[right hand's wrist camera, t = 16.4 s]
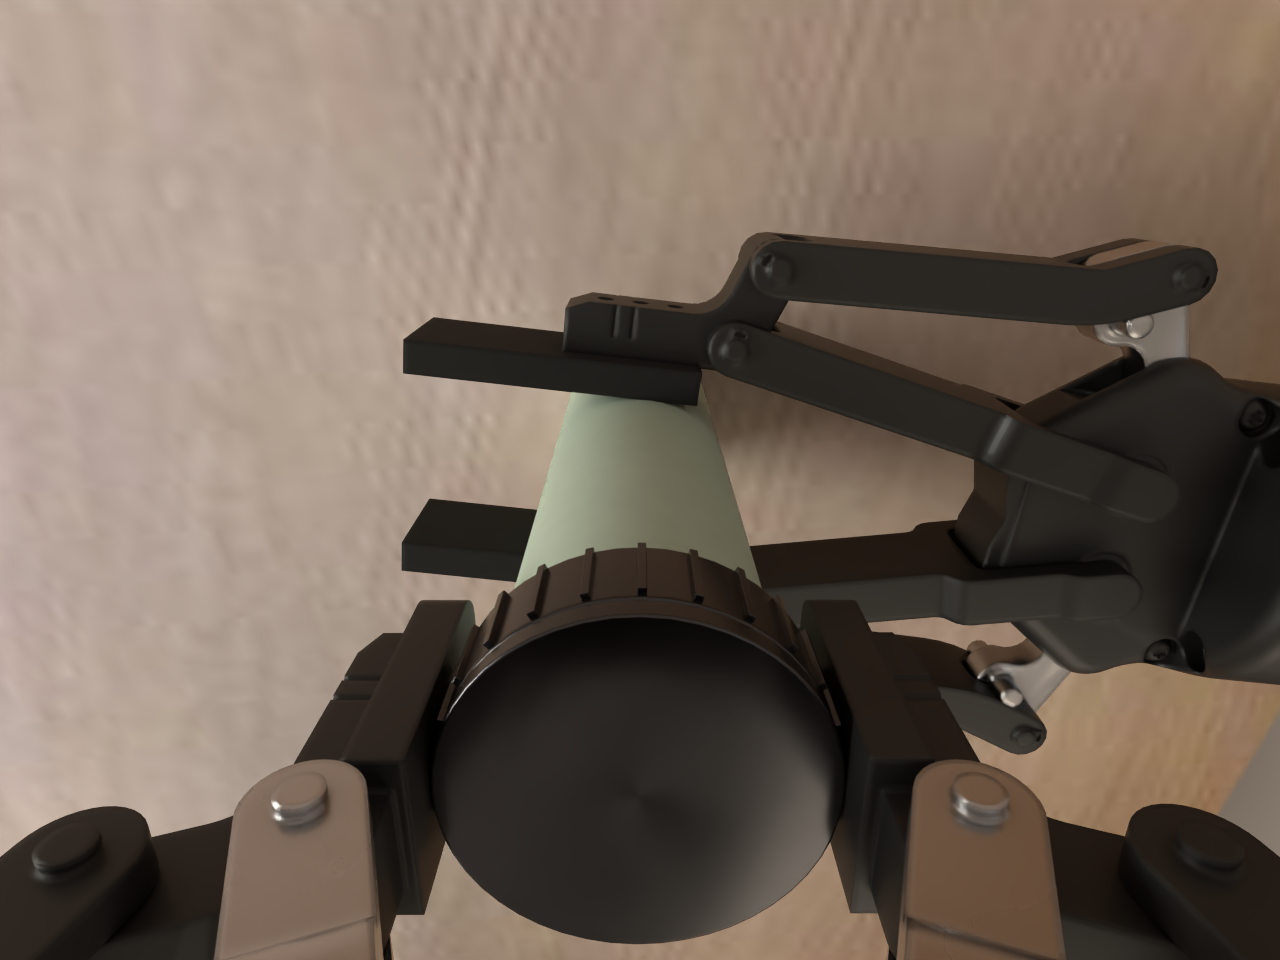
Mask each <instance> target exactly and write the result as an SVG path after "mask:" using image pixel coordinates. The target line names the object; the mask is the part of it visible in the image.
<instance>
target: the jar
mask: <svg viewBox="0 0 1280 960" xmlns="http://www.w3.org/2000/svg"><path fill="white" fill-rule="evenodd" d="M638 542H640V543H646V548H659V549H669V550H674V551H679V552H684V553H688V552H689V550H690V549H694V550H697V551H698V556H699V557H702V558H705V559H709V560H712V561H715V562H717V563H719V564H721V565H723V566H725V567H727V568H730V569H732V570H734V571H735V569H736V568H737V567H740V568H742V569H743V570H745V574H746V578H747V579H749V580H751V581H752V582H754V583H755V584H757V585H758V586H759V587H761V584H760V581H759V577H758V574H757V570H756V567H755V563H754V560H753V557H752V553H751V550H750V546H749V543H748V540H747V536H746V533H745V529H744V526H743V523H742V519H741V516H740V512H739V509H738V506H737V502H736V499H735V495H734V492H733V489H732V485H731V482H730V478H729V475H728V472H727V468H726V465H725V461H724V458H723V455H722V451H721V448H720V444H719V441H718V438H717V434H716V431H715V427H714V424H713V421H712V417H711V414H710V410H709V407H708V404H707V400H706V397H705V393H704V390H703V387H702V383H701V384H700V390H699V397H698V404H697V406H691V405H682V404H673V403H664V402H655V401H648V400H637V399H628V398H619V397H611V396H602V395H593V394H584V393H575V392H572V393H571V397H570V400H569V403H568V407H567V410H566V414H565V417H564V421H563V424H562V427H561V431H560V434H559V438H558V441H557V445H556V448H555V451H554V455H553V458H552V462H551V465H550V469H549V472H548V475H547V479H546V482H545V486H544V489H543V493H542V496H541V499H540V503H539V506H538V510H537V513H536V517H535V520H534V523H533V527H532V530H531V534H530V537H529V540H528V544H527V547H526V551H525V554H524V558H523V561H522V564H521V568H520V571H519V575H518V578H517V582H516V585H515V588H516V587H518V586H519V585H520V584H522V583H523V582H524V581H526V580H528V579H529V578H531V577H533V576H534V575H536V573H537V569H538V567H539V566H541V565H543V564H546V566H547V567H548V568H549V567H551V566H554V565H556V564H558V563H561V562H563V561H565V560H568V559H571V558H574V557H578V556H581V555H584V554H585V550H586V549H587V548H592V547H594V550H595V552H597V551H603V550H609V549H615V548H635V547H637V546H638ZM515 588H514V589H515ZM761 588H762V587H761Z"/></svg>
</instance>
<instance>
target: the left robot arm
mask: <svg viewBox="0 0 1280 960" xmlns="http://www.w3.org/2000/svg"><path fill="white" fill-rule="evenodd" d="M738 257H739V259H738V261H737V263H736V265H735V267H734V268H733V270H732V272H731V274H730V276H729V278H728V280H727V282H726V284H725V285H724V287H723V288H722V290H721V291H720V292H719V293H718V294H717V295H716V296H715V297H714V298H712V299H710V300H708V301H707V302H703V303H699V304H687V303H679V302H670V301H662V300H653V299H645V298H634V297H628V296H616V295H610V294H602V293H593V292H592V293H589V294H585V295H581V296H578V297H574V298H571V299H570V301H569V303H568V305H567V307H566V310H565V323H564V332H556V331H547V330H539V329H530V328H521V327H513V326H504V325H495V324H486V323H478V322H469V321H460V320H452V319H443V318H434V317H433V318H432V319H431V320H429V321H428V322H426V323H425V324H424V325H422V326H421V327H420V328H418V329H417V330H416V331H414V332H413V333H412V334H410V335H409V336H408V337H406V338H405V339H403V373H405V374H414V375H423V376H432V377H440V378H449V379H458V380H467V381H476V382H485V383H494V384H503V385H512V386H521V387H530V388H539V389H548V390H557V391H566V392H575V393H584V394H593V395H602V396H611V397H619V398H628V399H637V400H648V401H655V402H664V403H673V404H682V405H691V406H697V404H698V397H699V390H700V384H701V377H702V372H701V369H708V370H717V371H718V372H720V373H721V374H723V375H725V376H727V377H730V378H733V379H736V380H739V381H742V382H745V383H748V384H751V385H754V386H757V387H760V388H763V389H766V390H769V391H772V392H775V393H778V394H781V395H784V396H787V397H790V398H793V399H796V400H799V401H802V402H805V403H808V404H811V405H814V406H817V407H820V408H823V409H826V410H829V411H832V412H835V413H837V414H840V415H843V416H846V417H849V418H852V419H855V420H858V421H861V422H864V423H867V424H870V425H873V426H876V427H879V428H882V429H885V430H888V431H891V432H894V433H897V434H900V435H903V436H906V437H909V438H912V439H915V440H918V441H921V442H924V443H927V444H930V445H933V446H936V447H939V448H942V449H945V450H948V451H951V452H954V453H957V454H960V455H963V456H966V457H969V458H972V459H974V490H973V492H972V493H971V495H970V497H969V499H968V500H967V502H966V504H965V505H964V507H963V509H962V510H961V512H960V514H959V516H958V519H957V520H950V521H939V522H928V523H922V524H919V525H917V526H916V527H915V528H914V530H913V531H911V532H906V533H895V534H884V535H872V536H861V537H849V538H838V539H827V540H815V541H804V542H792V543H781V544H769V545H758V546H750V550H751V553H752V557H753V560H754V563H755V567H756V570H757V574H758V577H759V581H760V584H761V587H762V589H763V590H764V591H765V592H766V593H768V594H769V595H770V596H771V597H772V598H773V597H774V596H776V595H777V594H778V595H779V596H780V597H781V598H782V600H783V603H784V606H785V609H786V612H787V614H788V615H789V616H790V617H791V619H792V620H793V622H794V623H795V625H796V626H797V628H798V629H799V631H800V624H801V613H802V607H803V603H804V601H805V600H855V601H856V602H857V603H858V605H859V607H860V609H861V611H862V613H863V615H864V617H865V619H866V621H867V623H869V622H881V621H893V620H905V619H917V618H929V617H941V618H945V619H947V620H950V621H952V622H954V623H957V624H961V625H981V624H993V623H1005V622H1011V623H1012V624H1013V625H1014V626H1015V627H1016V628H1017V629H1018V630H1019V631H1020V632H1021V633H1022V634H1023V635H1024V636H1026V637H1027V638H1026V639H1025V640H1024V641H1023V642H1021V643H1020V644H1018V645H1015V646H1012V647H1001V646H996V645H987V644H986V643H985V642H984V641H982V640H976V641H974V642H972V643H971V644H969V645H968V648H967V650H964V649H962V648H960V647H957V646H955V645H952V644H948V643H945V642H942V641H938V640H932V639H927V638H920V637H912V636H904V635H896V634H895V635H896V636H897V637H899V638H900V639H901V640H903V641H904V642H905V643H906V644H908V645H909V646H910V647H911V648H913V649H914V650H915V651H917V652H918V654H919V656H920V658H921V659H922V661H923V663H924V665H925V666H926V668H927V670H928V672H929V673H930V678H931V680H934V682H935V684H936V686H937V687H938V689H939V691H940V693H941V698H942V699H944V700H945V701H946V703H947V705H948V707H949V708H950V710H951V712H952V714H953V715H954V717H955V719H956V721H957V722H958V724H959V726H960V728H961V729H962V730H964V731H966V732H968V733H970V734H972V735H974V736H976V737H979V738H981V739H983V740H985V741H987V742H989V743H991V744H993V745H995V746H997V747H1000V748H1002V749H1004V750H1006V751H1008V752H1010V753H1014V754H1028V753H1030V752H1033V751H1035V750H1036V749H1038V748H1039V747H1040V746H1041V745H1042V744H1043V742H1044V741H1045V739H1046V734H1047V730H1046V728H1045V726H1044V724H1043V723H1042V721H1041V720H1040V718H1039V717H1038V716H1037V714H1036V711H1037V710H1038V709H1039V708H1040V707H1041V706H1042V704H1043V703H1044V702H1045V701H1046V700H1047V699H1048V697H1049V696H1050V695H1051V694H1052V693H1053V692H1054V691H1055V689H1056V688H1057V687H1058V686H1059V685H1060V684H1061V682H1062V681H1063V680H1064V679H1065V678H1066V677H1067V676H1068V674H1069V673H1070V672H1075V673H1082V674H1090V673H1097V672H1102V671H1105V670H1108V669H1111V668H1113V667H1117V666H1121V665H1125V664H1131V663H1147V664H1152V665H1156V666H1160V667H1164V668H1168V669H1172V670H1176V671H1179V672H1183V673H1187V674H1192V675H1196V676H1201V677H1207V678H1214V679H1224V680H1235V681H1245V682H1255V683H1266V684H1276V685H1280V384H1271V383H1263V382H1254V381H1245V380H1237V379H1228V378H1223V377H1222V376H1221V375H1220V374H1218V373H1217V372H1216V371H1215V370H1214V369H1213V368H1212V367H1211V366H1209V365H1208V364H1206V363H1204V362H1202V361H1200V360H1197V359H1194V358H1190V353H1189V305H1190V304H1192V303H1195V302H1197V301H1199V300H1201V299H1202V298H1203V297H1204V296H1205V295H1206V294H1207V293H1208V292H1209V291H1210V290H1211V288H1212V286H1213V285H1214V283H1215V281H1216V276H1217V271H1218V268H1217V264H1216V260H1215V258H1214V257H1213V256H1212V255H1211V254H1210V252H1208V251H1206V250H1203V249H1200V248H1195V247H1188V246H1182V245H1174V244H1167V243H1161V242H1154V241H1148V240H1141V239H1134V238H1131V239H1122V240H1118V241H1114V242H1110V243H1107V244H1103V245H1099V246H1095V247H1091V248H1088V249H1084V250H1080V251H1076V252H1073V253H1069V254H1065V255H1061V256H1057V257H1054V258H1047V257H1036V256H1025V255H1014V254H1003V253H992V252H981V251H970V250H959V249H948V248H937V247H926V246H915V245H904V244H893V243H882V242H871V241H860V240H849V239H838V238H826V237H815V236H804V235H793V234H782V233H771V232H764V233H757V234H755V235H753V236H751V237H749V238H748V239H747V240H746V241H745V243H744V244H743V245H742V247H741V250H740V253H739V256H738ZM788 301H801V302H812V303H823V304H835V305H846V306H857V307H869V308H880V309H891V310H903V311H914V312H926V313H937V314H948V315H960V316H971V317H982V318H994V319H1005V320H1016V321H1028V322H1039V323H1050V324H1062V325H1076V327H1077V328H1078V330H1079V332H1080V333H1082V334H1083V335H1084V336H1086V337H1089V338H1091V339H1094V340H1097V341H1099V342H1102V343H1104V344H1107V345H1110V346H1120V348H1121V349H1122V352H1123V356H1122V357H1120V358H1118V359H1116V360H1114V361H1112V362H1110V363H1108V364H1106V365H1104V366H1102V367H1100V368H1098V369H1096V370H1094V371H1092V372H1090V373H1088V374H1086V375H1084V376H1082V377H1080V378H1078V379H1076V380H1074V381H1072V382H1070V383H1067V384H1065V385H1063V386H1061V387H1059V388H1057V389H1055V390H1053V391H1051V392H1049V393H1047V394H1045V395H1043V396H1041V397H1039V398H1037V399H1035V400H1033V401H1031V402H1029V403H1027V404H1025V405H1024V404H1021V403H1018V402H1015V401H1012V400H1009V399H1006V398H1004V397H1001V396H998V395H995V394H992V393H989V392H986V391H983V390H981V389H978V388H975V387H972V386H969V385H964V384H963V385H960V384H956V383H953V382H950V381H948V380H945V379H942V378H939V377H936V376H933V375H930V374H927V373H924V372H922V371H919V370H916V369H913V368H910V367H907V366H904V365H901V364H898V363H896V362H893V361H890V360H887V359H884V358H881V357H878V356H875V355H872V354H869V353H867V352H864V351H861V350H858V349H855V348H852V347H849V346H846V345H843V344H841V343H838V342H835V341H832V340H829V339H826V338H823V337H820V336H817V335H815V334H812V333H809V332H806V331H803V330H800V329H797V328H794V327H791V326H789V325H786V324H783V323H780V322H777V320H778V319H779V317H780V315H781V313H782V311H783V310H784V308H785V306H786V304H787V302H788ZM536 513H537V510H533V509H524V508H514V507H505V506H495V505H485V504H476V503H466V502H457V501H447V500H438V499H429V500H428V502H427V504H426V505H425V507H424V508H423V510H422V511H421V513H420V515H419V516H418V518H417V519H416V521H415V523H414V524H413V526H412V527H411V529H410V531H409V532H408V534H407V535H406V537H405V538H404V540H403V542H402V571H412V572H422V573H432V574H442V575H452V576H461V577H471V578H481V579H491V580H501V581H511V582H517V578H518V575H519V571H520V568H521V564H522V561H523V558H524V554H525V551H526V547H527V544H528V540H529V537H530V534H531V530H532V527H533V523H534V520H535V517H536Z"/></svg>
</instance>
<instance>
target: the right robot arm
mask: <svg viewBox="0 0 1280 960" xmlns="http://www.w3.org/2000/svg"><path fill="white" fill-rule="evenodd" d="M473 625H475V614H474V608H473V604H472V602H471V601H470V600H422V601H420V602H419V604H418V605H417V607H416V609H415V611H414V613H413V615H412V617H411V619H410V621H409V623H408V625H407V627H406V629H405V631H404V633H383V634H382V635H380V636H379V637H378V638H377V639H375V640H374V641H373V642H371V643H370V644H369V645H368V646H366V647H365V648H364V649H362V650H361V651H360V652H359V653H358V654H357V656H356V657H355V659H354V661H353V662H352V664H351V666H350V668H349V669H348V671H347V673H346V675H345V680H344V681H341V683H340V685H339V687H338V688H337V690H336V692H335V694H334V699H333V700H330V702H329V704H328V706H327V707H326V709H325V711H324V713H323V714H322V716H321V718H320V719H319V721H318V723H317V725H316V726H315V728H314V730H313V732H312V733H311V735H310V737H309V738H308V740H307V742H306V744H305V745H304V747H303V749H302V750H301V752H300V754H299V756H298V757H297V759H296V761H295V763H294V764H293V765H290V766H288V767H285V768H282V769H280V770H278V771H276V772H274V773H272V774H270V775H269V776H267V777H265V778H264V779H262V780H261V781H259V782H258V783H257V784H256V785H254V786H253V787H252V788H251V789H250V790H249V791H248V792H247V793H246V794H245V795H244V796H243V798H242V799H241V801H240V802H239V804H238V806H237V808H236V809H235V812H234V816H231V817H228V818H226V819H223V820H220V821H217V822H213V823H210V824H206V825H202V826H198V827H194V828H189V829H185V830H181V831H177V832H172V833H168V834H164V835H159V836H155V837H151V834H150V830H149V827H148V824H147V822H146V819H145V818H144V817H143V816H142V815H141V814H140V813H138V812H136V811H135V810H132V809H129V808H126V807H117V806H107V807H98V808H91V809H87V810H83V811H79V812H76V813H73V814H70V815H67V816H64V817H62V818H60V819H57V820H55V821H53V822H51V823H49V824H47V825H45V826H43V827H41V828H39V829H38V830H36V831H34V832H33V833H31V834H30V835H28V836H27V837H25V838H24V839H23V840H21V841H20V842H18V843H17V844H16V845H15V846H13V847H12V848H11V849H10V850H8V851H7V852H6V853H5V854H4V855H2V856H1V857H0V960H394V957H393V951H392V944H391V938H390V933H391V930H392V926H393V923H394V920H395V917H396V915H424V914H425V910H426V907H427V903H428V900H429V896H430V893H431V889H432V886H433V882H434V879H435V876H436V872H437V869H438V865H439V862H440V858H441V855H442V851H443V848H444V844H445V841H446V840H445V838H444V836H443V834H442V832H441V829H440V826H439V823H438V820H437V818H436V815H435V811H434V805H433V800H432V794H431V763H432V756H433V750H434V745H435V742H436V739H437V736H438V733H439V730H440V727H438V726H435V722H436V719H437V716H438V713H439V710H440V708H441V705H442V702H443V699H444V697H445V694H446V691H447V688H448V686H449V683H450V680H451V677H452V675H453V672H454V669H455V666H456V664H458V663H459V661H460V658H461V655H462V652H463V649H464V647H465V644H466V641H467V638H468V636H469V633H470V630H471V628H472V627H473ZM803 630H806V631H807V632H808V634H809V637H810V639H811V642H812V645H813V648H814V650H815V653H816V656H817V659H818V661H819V664H820V667H821V669H822V672H823V675H824V678H825V680H826V683H827V686H828V689H829V691H830V694H831V697H832V699H833V702H834V705H835V708H836V710H837V713H838V716H839V719H840V722H841V724H842V728H841V732H838V733H839V737H840V740H841V744H842V747H843V751H844V758H845V767H846V787H845V798H844V803H843V807H842V811H841V816H840V820H839V822H838V825H837V827H836V830H835V832H834V835H833V837H832V839H831V841H830V842H831V846H832V849H833V853H834V857H835V860H836V864H837V867H838V871H839V874H840V878H841V881H842V885H843V889H844V892H845V896H846V899H847V903H848V906H849V910H850V913H878V915H879V918H880V921H881V924H882V927H883V930H884V934H885V937H886V940H887V943H888V951H887V957H886V960H1280V857H1279V856H1278V855H1276V854H1275V853H1274V852H1273V851H1271V850H1270V849H1269V848H1268V847H1267V846H1265V845H1264V844H1263V843H1262V842H1260V841H1259V840H1258V839H1256V838H1255V837H1254V836H1252V835H1251V834H1250V833H1248V832H1247V831H1245V830H1243V829H1242V828H1240V827H1239V826H1237V825H1235V824H1233V823H1231V822H1229V821H1227V820H1225V819H1223V818H1221V817H1219V816H1216V815H1214V814H1212V813H1209V812H1206V811H1203V810H1200V809H1196V808H1192V807H1188V806H1183V805H1176V804H1156V805H1150V806H1147V807H1143V808H1141V809H1140V810H1138V811H1136V813H1135V814H1134V815H1133V816H1132V817H1131V820H1130V822H1129V825H1128V828H1127V832H1126V835H1125V836H1121V835H1116V834H1112V833H1108V832H1103V831H1099V830H1095V829H1091V828H1086V827H1082V826H1078V825H1074V824H1069V823H1065V822H1062V821H1058V820H1055V819H1052V818H1049V817H1047V816H1046V812H1045V810H1044V808H1043V806H1042V804H1041V802H1040V801H1039V799H1038V798H1037V796H1036V795H1035V794H1034V793H1033V792H1032V791H1031V790H1030V789H1029V788H1028V787H1027V786H1026V785H1024V784H1023V783H1022V782H1021V781H1019V780H1018V779H1016V778H1015V777H1013V776H1011V775H1010V774H1008V773H1006V772H1004V771H1002V770H1000V769H998V768H995V767H992V766H990V765H987V764H983V763H980V761H979V759H978V757H977V756H976V754H975V752H974V750H973V749H972V747H971V745H970V743H969V742H968V740H967V738H966V736H965V735H964V733H963V731H962V729H961V728H960V726H959V724H958V722H957V721H956V719H955V717H954V715H953V714H952V712H951V710H950V708H949V707H948V705H947V703H946V701H945V700H944V699H942V698H941V693H940V691H939V689H938V687H937V686H936V684H935V682H934V680H931V678H930V673H929V672H928V670H927V668H926V666H925V665H924V663H923V661H922V659H921V658H920V656H919V654H918V652H917V651H915V650H914V649H913V648H911V647H910V646H909V645H908V644H906V643H905V642H904V641H903V640H901V639H900V638H899V637H897V636H896V635H895V634H894V633H892V632H872V631H871V629H870V627H869V625H868V623H867V621H866V619H865V617H864V615H863V613H862V611H861V609H860V607H859V605H858V603H857V602H856V601H855V600H805V601H804V603H803V607H802V613H801V624H800V632H801V631H803Z"/></svg>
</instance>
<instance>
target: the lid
mask: <svg viewBox="0 0 1280 960" xmlns="http://www.w3.org/2000/svg"><path fill="white" fill-rule="evenodd" d="M435 726H438V727H440V730H439V733H438V736H437V739H436V742H435V745H434V750H433V756H432V763H431V794H432V800H433V805H434V811H435V815H436V818H437V820H438V823H439V826H440V829H441V832H442V834H443V836H444V838H445V840H446V842H447V844H448V846H449V848H450V849H451V851H452V853H453V855H454V856H455V857H456V859H457V860H458V861H459V863H460V864H461V866H462V867H463V868H464V870H465V871H466V872H467V873H468V874H469V875H470V876H471V877H472V878H473V879H474V880H475V881H476V882H477V884H478V885H479V886H480V887H481V888H483V889H484V890H485V891H486V892H488V893H489V894H490V895H491V896H492V897H494V898H495V899H496V900H497V901H499V902H500V903H502V904H503V905H505V906H506V907H508V908H510V909H511V910H513V911H514V912H516V913H518V914H519V915H521V916H523V917H525V918H527V919H529V920H532V921H534V922H536V923H538V924H540V925H542V926H545V927H548V928H551V929H553V930H556V931H559V932H561V933H565V934H569V935H573V936H577V937H581V938H584V939H590V940H596V941H603V942H609V943H625V944H652V943H665V942H673V941H680V940H686V939H691V938H695V937H699V936H704V935H708V934H711V933H714V932H717V931H720V930H723V929H726V928H729V927H731V926H734V925H736V924H738V923H740V922H742V921H745V920H747V919H749V918H751V917H753V916H755V915H756V914H758V913H760V912H761V911H763V910H765V909H767V908H768V907H770V906H772V905H773V904H774V903H776V902H777V901H778V900H780V899H781V898H782V897H784V896H785V895H786V894H788V893H789V892H790V891H791V890H792V889H793V888H794V887H795V886H797V885H798V884H799V883H800V882H801V881H802V880H803V879H804V878H805V877H806V876H807V875H808V873H809V872H810V871H811V870H812V868H813V867H814V866H815V864H816V863H817V862H818V861H819V859H820V858H821V857H822V855H823V853H824V851H825V850H826V848H827V846H828V845H829V843H830V841H831V839H832V837H833V835H834V832H835V830H836V827H837V825H838V822H839V820H840V816H841V811H842V807H843V803H844V798H845V787H846V767H845V758H844V751H843V747H842V744H841V740H840V737H839V733H838V732H841V728H842V724H841V722H840V719H839V716H838V713H837V710H836V708H835V705H834V702H833V699H832V697H831V694H830V691H829V689H828V686H827V683H826V680H825V678H824V675H823V672H822V669H821V667H820V664H819V661H818V659H817V656H816V653H815V650H814V648H813V645H812V642H811V639H810V637H809V634H808V632H807V631H806V630H803V631H801V632H800V631H799V629H798V628H797V626H796V625H795V623H794V622H793V620H792V619H791V617H790V616H789V615H788V614H787V612H786V609H785V606H784V603H783V600H782V598H781V597H780V596H779V595H778V594H777V595H776V596H774V597H773V598H772V597H771V596H770V595H769V594H768V593H766V592H765V591H764V590H763V589H762V588H761V587H759V586H758V585H757V584H755V583H754V582H752V581H751V580H749V579H747V578H746V574H745V570H743V569H742V568H740V567H737V568H736V569H735V571H734V570H732V569H730V568H727V567H725V566H723V565H721V564H719V563H717V562H715V561H712V560H709V559H705V558H702V557H699V556H698V551H697V550H694V549H690V550H689V552H688V553H684V552H679V551H674V550H669V549H659V548H646V543H640V542H638V546H637V547H635V548H615V549H609V550H603V551H597V552H595V550H594V547H592V548H587V549H586V550H585V554H584V555H581V556H578V557H574V558H571V559H568V560H565V561H563V562H561V563H558V564H556V565H554V566H551V567H549V568H548V567H547V566H546V564H543V565H541V566H539V567H538V569H537V573H536V575H534V576H533V577H531V578H529V579H528V580H526V581H524V582H523V583H522V584H520V585H519V586H518V587H516V588H515V589H514V590H513V591H511V592H510V593H509V594H508V593H507V592H506V591H502V592H501V593H500V594H499V595H498V598H497V602H496V605H495V608H494V609H493V610H492V611H491V612H490V613H489V615H488V616H487V617H486V619H485V620H484V622H483V623H482V624H481V626H480V627H478V626H476V625H473V627H472V628H471V630H470V633H469V636H468V638H467V641H466V644H465V647H464V649H463V652H462V655H461V658H460V661H459V663H458V664H456V666H455V669H454V672H453V675H452V677H451V680H450V683H449V686H448V688H447V691H446V694H445V697H444V699H443V702H442V705H441V708H440V710H439V713H438V716H437V719H436V722H435Z"/></svg>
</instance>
